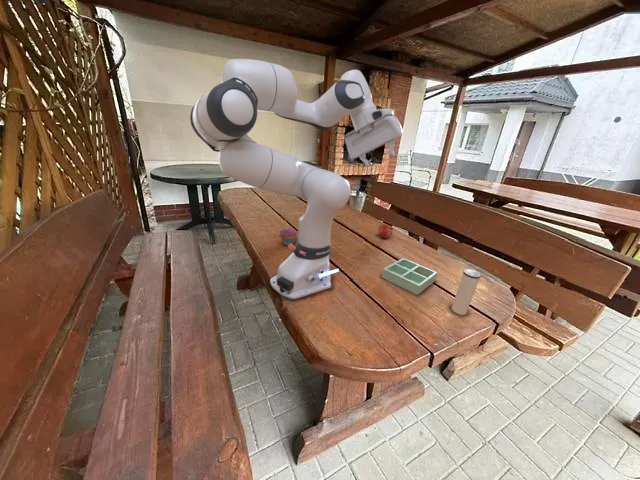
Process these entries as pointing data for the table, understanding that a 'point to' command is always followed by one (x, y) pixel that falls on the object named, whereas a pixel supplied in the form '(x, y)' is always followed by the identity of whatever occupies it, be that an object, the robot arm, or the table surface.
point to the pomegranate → (385, 231)
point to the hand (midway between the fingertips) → (380, 161)
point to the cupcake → (288, 235)
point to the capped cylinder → (465, 291)
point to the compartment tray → (409, 275)
